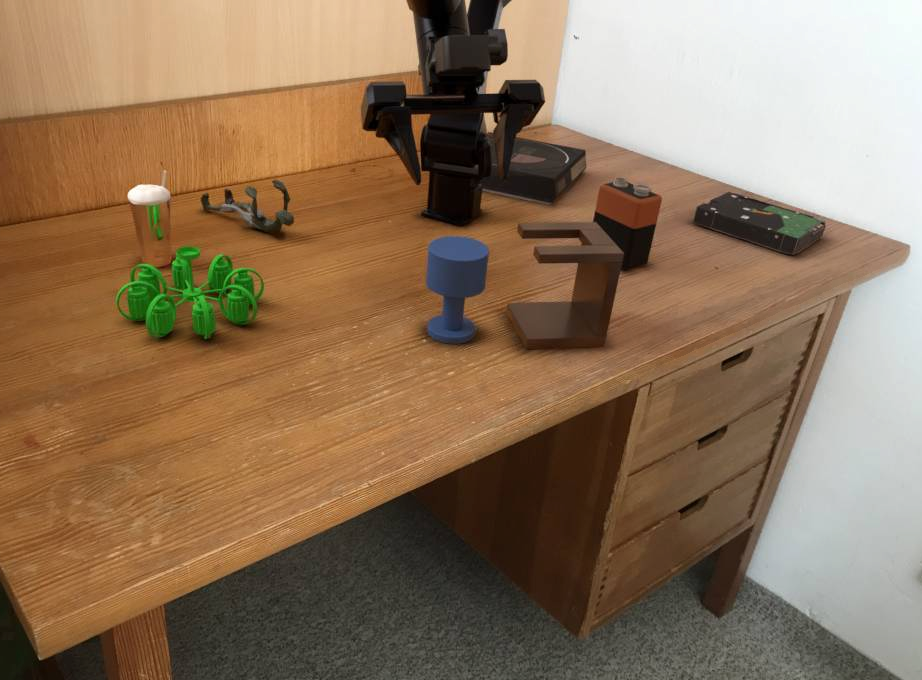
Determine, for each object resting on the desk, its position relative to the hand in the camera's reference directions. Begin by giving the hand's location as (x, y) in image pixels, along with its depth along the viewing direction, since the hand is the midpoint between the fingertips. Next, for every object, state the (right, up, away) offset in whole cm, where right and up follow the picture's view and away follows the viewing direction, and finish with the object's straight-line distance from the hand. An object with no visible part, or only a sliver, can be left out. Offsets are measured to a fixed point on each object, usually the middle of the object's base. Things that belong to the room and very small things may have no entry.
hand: (461, 181), depth 85 cm
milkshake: (-35, -7, +11) cm, 37 cm away
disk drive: (+43, 0, +30) cm, 53 cm away
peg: (-1, -16, +1) cm, 16 cm away
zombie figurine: (-26, 0, +22) cm, 34 cm away
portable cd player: (+11, +11, +43) cm, 46 cm away
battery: (+21, -5, +19) cm, 29 cm away
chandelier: (-28, -14, +1) cm, 31 cm away
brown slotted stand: (+10, -15, +3) cm, 18 cm away
